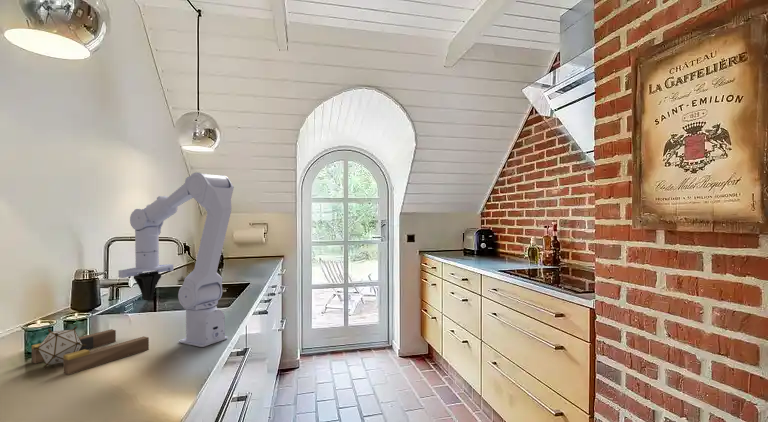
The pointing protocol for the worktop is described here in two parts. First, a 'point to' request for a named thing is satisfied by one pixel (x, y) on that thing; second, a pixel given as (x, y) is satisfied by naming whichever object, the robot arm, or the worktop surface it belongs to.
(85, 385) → the worktop surface
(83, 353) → the twin wooden rails
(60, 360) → the game die
